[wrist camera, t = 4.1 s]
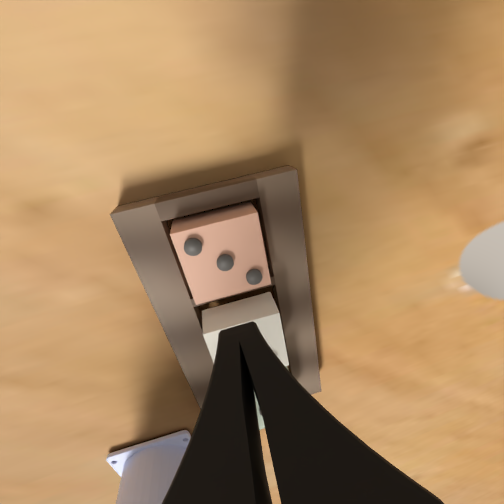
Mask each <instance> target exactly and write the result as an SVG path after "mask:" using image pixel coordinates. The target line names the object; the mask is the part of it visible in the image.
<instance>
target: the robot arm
mask: <svg viewBox="0 0 504 504" xmlns="http://www.w3.org/2000/svg"><path fill="white" fill-rule="evenodd" d="M254 392H255V394H254ZM255 395H256V398H257V401H258V404H259V408H260V411H261V414H262V417H263V421H264V425H265V430H266V434H267V439H268V444H269V448H270V453H271V457H272V462H273V467H274V471H275V476H276V481H277V485H278V490H279V495H280V499H281V504H444V503H443V502H442V501H441V500H440V499H439V498H438V497H436V496H435V495H434V494H432V493H431V492H429V491H428V490H427V489H425V488H424V487H422V486H421V485H419V484H418V483H417V482H415V481H414V480H412V479H411V478H410V477H408V476H407V475H406V474H404V473H403V472H402V471H400V470H399V469H397V468H396V467H395V466H393V465H392V464H391V463H389V462H388V461H387V460H386V459H384V458H383V457H382V456H380V455H379V454H378V453H377V452H375V451H374V450H373V449H371V448H370V447H369V446H368V445H366V444H365V443H364V442H363V441H362V440H360V439H359V438H358V437H357V436H356V435H355V434H353V433H352V432H351V431H350V430H349V429H347V428H346V427H345V426H344V425H343V424H341V423H340V422H339V421H338V420H337V419H336V418H335V417H334V416H332V415H331V414H330V413H329V412H328V411H327V410H326V409H325V408H324V407H323V406H322V405H321V404H320V403H319V402H318V401H317V400H316V399H315V398H313V397H312V396H311V395H310V393H309V392H308V391H307V390H306V389H305V388H304V387H303V386H302V385H301V384H300V383H299V382H298V381H297V380H296V379H295V377H294V376H293V375H292V374H291V373H290V372H289V371H288V369H287V368H286V367H285V366H284V365H283V363H282V362H281V361H280V360H279V358H278V357H277V356H276V354H275V353H274V352H273V350H272V349H271V348H270V346H269V345H268V343H267V342H266V340H265V339H264V337H263V336H262V334H261V332H260V330H259V328H258V326H257V324H256V323H255V322H253V321H252V322H249V323H245V324H242V325H238V326H235V327H231V328H228V329H224V330H221V331H220V332H219V335H218V344H217V350H216V356H215V361H214V365H213V369H212V373H211V377H210V381H209V385H208V388H207V392H206V395H205V398H204V401H203V405H202V408H201V411H200V414H199V417H198V420H197V422H196V425H195V428H194V431H193V433H192V436H191V435H190V433H189V432H188V431H187V430H182V431H179V432H176V433H173V434H170V435H166V436H163V437H160V438H157V439H154V440H150V441H147V442H144V443H141V444H137V445H134V446H131V447H128V448H125V449H121V450H118V451H115V452H112V453H109V454H108V455H107V459H106V460H107V462H108V463H109V464H110V465H111V466H112V467H113V469H114V470H115V471H116V472H117V473H118V474H119V475H120V477H121V481H120V486H119V491H118V495H117V500H116V504H272V500H271V496H270V491H269V486H268V481H267V477H266V472H265V466H264V460H263V453H262V446H261V438H260V431H259V424H258V416H257V409H256V402H255Z"/></svg>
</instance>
